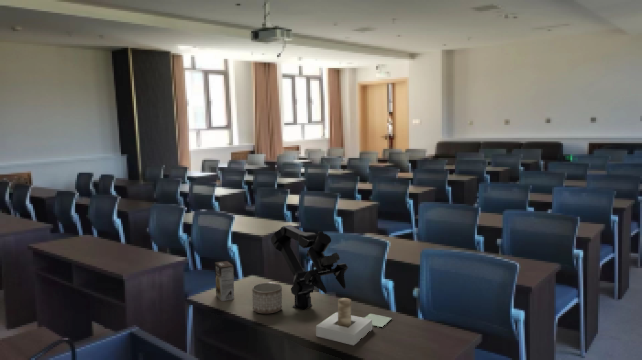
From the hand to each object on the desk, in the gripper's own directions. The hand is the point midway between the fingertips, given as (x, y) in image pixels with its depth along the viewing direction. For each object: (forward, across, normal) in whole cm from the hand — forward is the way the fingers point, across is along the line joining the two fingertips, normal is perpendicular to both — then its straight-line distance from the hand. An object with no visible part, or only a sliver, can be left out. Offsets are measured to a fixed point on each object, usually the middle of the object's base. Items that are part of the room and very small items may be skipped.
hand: (335, 290), depth 195 cm
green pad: (+14, +16, +7) cm, 22 cm away
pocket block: (+15, -1, +6) cm, 16 cm away
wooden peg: (+15, -1, +6) cm, 16 cm away
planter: (-13, -14, +31) cm, 37 cm away
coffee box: (-33, -23, +48) cm, 63 cm away
